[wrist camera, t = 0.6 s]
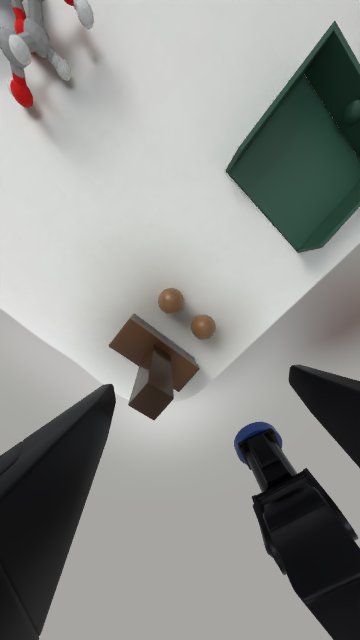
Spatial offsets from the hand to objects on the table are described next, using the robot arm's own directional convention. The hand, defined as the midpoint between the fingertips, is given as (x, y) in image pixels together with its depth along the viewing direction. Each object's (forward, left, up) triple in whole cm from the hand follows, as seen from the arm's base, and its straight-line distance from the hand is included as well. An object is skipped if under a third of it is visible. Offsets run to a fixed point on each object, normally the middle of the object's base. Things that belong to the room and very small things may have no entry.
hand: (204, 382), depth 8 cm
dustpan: (+11, -23, -14) cm, 29 cm away
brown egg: (+3, 0, -12) cm, 12 cm away
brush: (-2, +4, -14) cm, 14 cm away
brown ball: (-2, -2, -12) cm, 12 cm away
